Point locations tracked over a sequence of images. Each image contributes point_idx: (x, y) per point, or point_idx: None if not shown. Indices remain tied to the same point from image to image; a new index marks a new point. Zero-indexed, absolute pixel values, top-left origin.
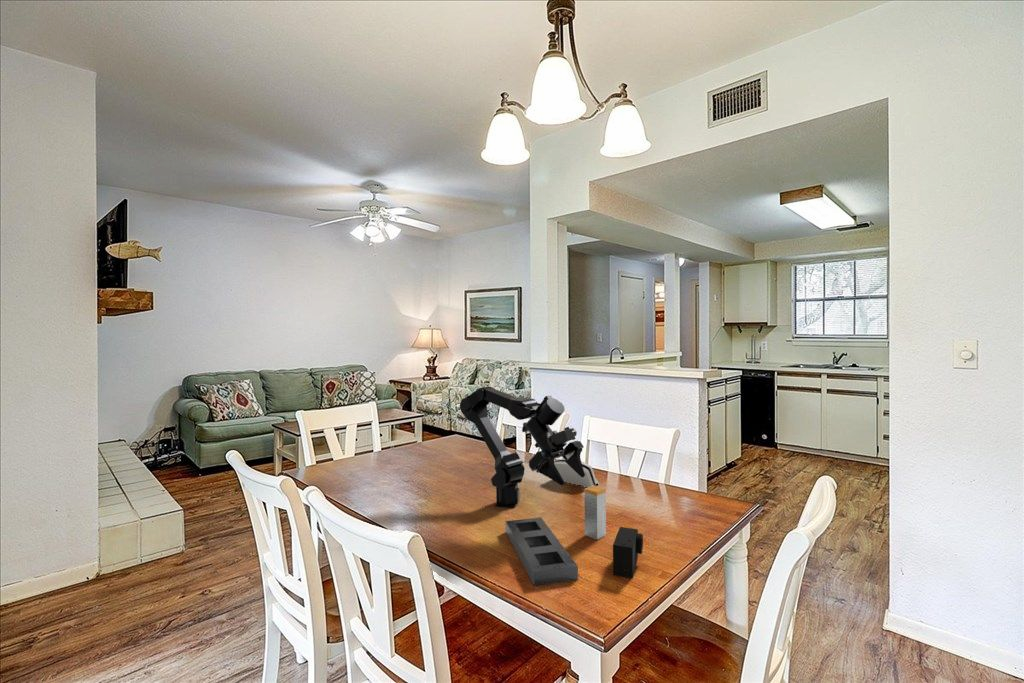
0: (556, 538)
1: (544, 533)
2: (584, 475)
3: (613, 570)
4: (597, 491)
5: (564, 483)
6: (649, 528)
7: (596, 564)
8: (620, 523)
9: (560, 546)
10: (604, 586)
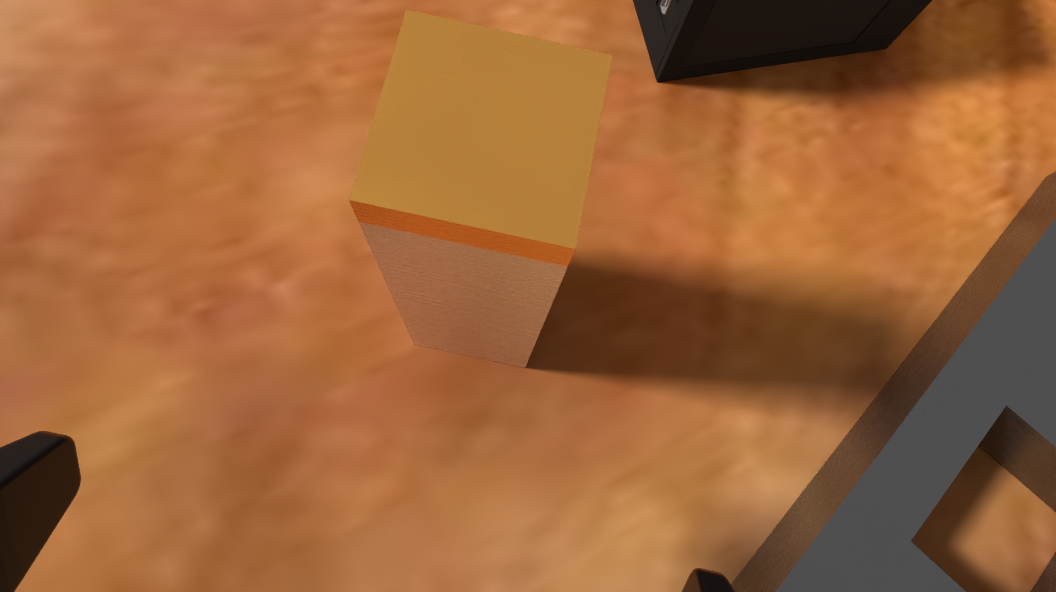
0: (899, 430)
1: (891, 565)
2: (62, 435)
3: (900, 30)
4: (584, 56)
5: (700, 568)
6: (188, 30)
7: (843, 154)
8: (184, 219)
9: (986, 342)
10: (1004, 51)
